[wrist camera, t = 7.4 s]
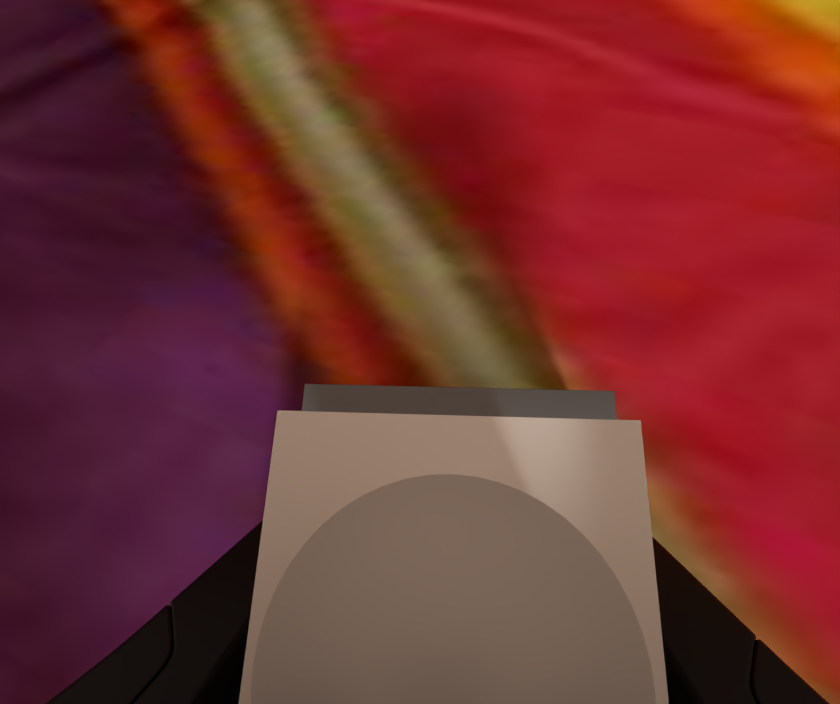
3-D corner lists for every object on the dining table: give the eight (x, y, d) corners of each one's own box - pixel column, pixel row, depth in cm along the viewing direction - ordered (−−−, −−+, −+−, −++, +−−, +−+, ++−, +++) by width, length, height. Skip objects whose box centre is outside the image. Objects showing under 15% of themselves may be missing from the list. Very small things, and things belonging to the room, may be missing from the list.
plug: (522, 630, 14) (891, 1234, 2) (381, 622, 14) (37, 1117, 2) (518, 484, 15) (744, 366, 3) (389, 479, 16) (189, 355, 4)
